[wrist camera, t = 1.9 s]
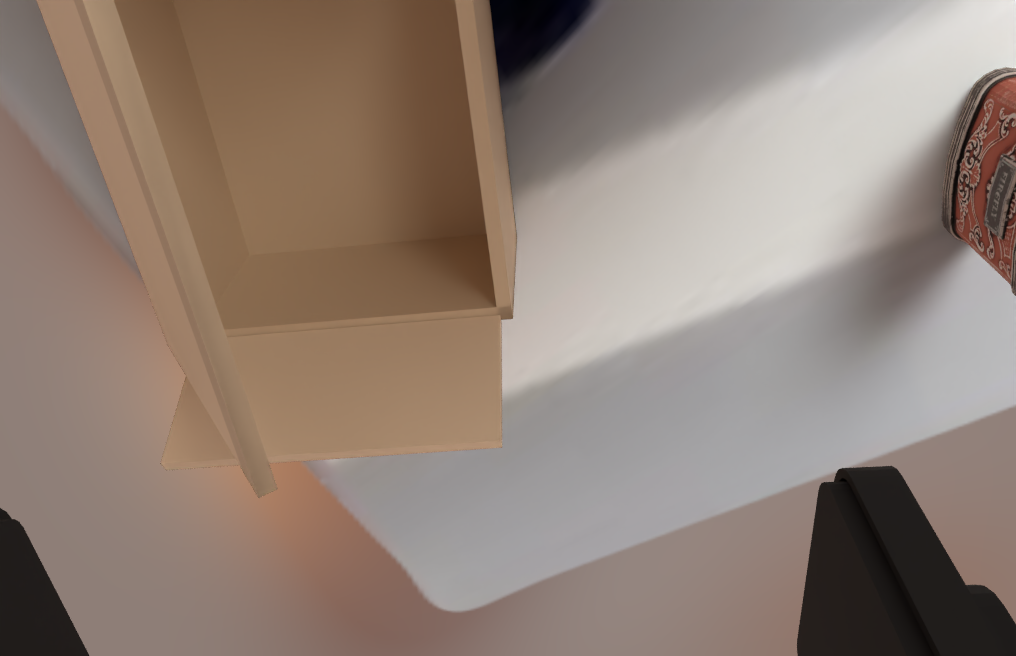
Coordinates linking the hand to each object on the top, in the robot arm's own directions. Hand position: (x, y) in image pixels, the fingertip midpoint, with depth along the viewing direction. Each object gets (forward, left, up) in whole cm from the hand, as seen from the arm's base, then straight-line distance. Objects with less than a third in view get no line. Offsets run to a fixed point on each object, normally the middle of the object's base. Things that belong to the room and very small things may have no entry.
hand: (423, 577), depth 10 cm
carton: (+8, +1, -31) cm, 31 cm away
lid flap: (+11, +1, -17) cm, 21 cm away
